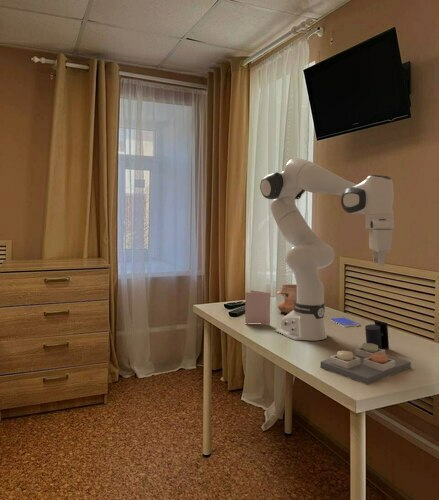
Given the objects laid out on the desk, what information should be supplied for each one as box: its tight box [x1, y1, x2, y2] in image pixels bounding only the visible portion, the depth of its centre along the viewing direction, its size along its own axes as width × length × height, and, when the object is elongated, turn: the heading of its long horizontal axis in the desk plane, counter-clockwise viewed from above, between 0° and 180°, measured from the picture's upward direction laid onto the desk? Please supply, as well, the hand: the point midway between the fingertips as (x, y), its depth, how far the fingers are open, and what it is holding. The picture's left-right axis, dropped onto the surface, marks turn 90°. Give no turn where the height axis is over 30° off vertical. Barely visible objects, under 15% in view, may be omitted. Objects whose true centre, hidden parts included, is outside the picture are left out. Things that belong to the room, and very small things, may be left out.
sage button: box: [362, 342, 378, 353], centre depth 147 cm, size 5×5×2 cm
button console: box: [319, 346, 412, 386], centre depth 141 cm, size 18×24×4 cm
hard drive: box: [330, 317, 361, 328], centre depth 200 cm, size 2×8×12 cm
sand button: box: [336, 350, 353, 362], centre depth 139 cm, size 5×5×2 cm
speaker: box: [364, 320, 390, 350], centre depth 162 cm, size 8×6×10 cm
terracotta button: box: [371, 353, 388, 364], centre depth 137 cm, size 5×5×2 cm
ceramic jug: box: [276, 283, 297, 315], centre depth 220 cm, size 18×14×14 cm
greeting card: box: [244, 290, 271, 325], centre depth 197 cm, size 11×7×15 cm, turn 46°
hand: (378, 264), depth 143 cm, fingers open, 8 cm apart
